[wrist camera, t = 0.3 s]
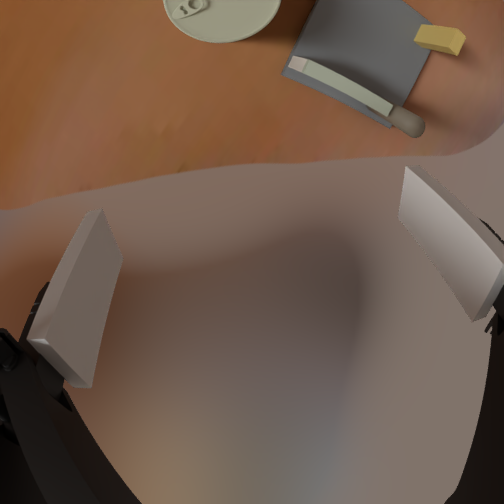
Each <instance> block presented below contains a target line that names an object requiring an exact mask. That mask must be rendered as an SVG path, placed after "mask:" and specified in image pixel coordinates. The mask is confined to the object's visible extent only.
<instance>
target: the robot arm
mask: <svg viewBox="0 0 504 504" xmlns="http://www.w3.org/2000/svg"><path fill="white" fill-rule="evenodd" d="M398 219H399V220H400V221H401V222H402V224H403V225H404V226H405V227H406V229H407V230H408V231H409V232H410V234H411V235H412V236H413V238H414V239H415V240H416V241H417V243H418V244H419V245H420V247H421V248H422V249H423V251H424V252H425V253H426V255H427V256H428V257H429V259H430V260H431V261H432V263H433V264H434V266H435V267H436V268H437V270H438V271H439V272H440V274H441V275H442V277H443V278H444V280H445V281H446V283H447V284H448V286H449V287H450V288H451V290H452V292H453V293H454V295H455V296H456V298H457V299H458V301H459V302H460V304H461V305H462V307H463V308H464V310H465V312H466V313H467V315H468V316H469V318H470V319H471V321H472V322H474V321H476V320H479V319H481V318H484V317H486V316H487V314H488V312H489V311H490V308H491V307H492V305H493V306H494V308H495V309H496V313H495V314H494V316H493V318H492V319H491V320H490V322H489V324H488V325H487V327H486V329H485V332H486V333H487V332H488V330H489V329H490V327H491V326H492V331H491V333H490V334H492V338H491V348H490V357H489V365H488V372H487V379H486V385H485V391H484V396H483V401H482V406H481V411H480V415H479V419H478V423H477V427H476V431H475V435H474V438H473V442H472V445H471V449H470V452H469V455H468V458H467V462H466V465H465V468H464V470H463V473H462V476H461V479H460V482H459V484H458V486H457V488H456V490H455V492H454V493H453V494H452V495H451V496H450V497H449V498H448V499H447V500H446V502H445V503H444V504H504V241H503V240H501V238H500V237H499V236H498V235H497V234H495V231H494V230H493V229H491V227H490V226H489V225H488V224H487V223H485V222H484V221H482V220H481V219H479V218H478V217H476V216H475V215H474V214H473V213H472V212H471V211H470V210H469V209H468V208H467V207H466V206H465V205H464V204H463V203H462V202H461V201H460V200H459V199H458V198H457V197H456V196H454V195H453V194H452V193H451V192H450V191H449V190H448V189H447V188H446V187H444V186H443V185H442V184H441V183H440V182H439V181H437V180H436V179H435V178H434V177H433V176H432V175H430V174H429V173H428V172H427V171H425V170H424V169H423V168H422V167H421V166H419V165H415V166H406V168H405V176H404V182H403V189H402V196H401V202H400V207H399V213H398ZM122 261H123V257H122V254H121V252H120V250H119V247H118V245H117V243H116V240H115V238H114V236H113V233H112V231H111V228H110V226H109V224H108V221H107V219H106V216H105V214H104V211H103V209H102V208H101V209H97V210H93V211H88V212H87V213H86V215H85V217H84V218H83V220H82V222H81V224H80V225H79V227H78V229H77V231H76V232H75V234H74V236H73V238H72V240H71V242H70V244H69V245H68V247H67V249H66V251H65V253H64V255H63V257H62V259H61V261H60V263H59V265H58V267H57V269H56V271H55V273H54V275H53V277H52V279H51V282H47V283H46V284H45V286H44V287H43V288H42V289H41V291H40V292H39V294H38V296H37V298H36V300H35V302H34V306H33V307H32V309H31V312H30V313H31V314H30V315H29V317H28V319H27V321H26V324H25V326H24V329H23V331H22V334H21V337H20V339H19V342H17V341H16V340H15V339H14V338H13V337H12V335H11V334H10V333H9V332H8V331H7V330H6V329H4V328H0V504H142V503H141V502H140V501H139V500H138V499H137V497H136V496H135V495H134V494H133V493H132V491H131V490H130V489H129V488H128V486H127V485H126V484H125V482H124V481H123V480H122V478H121V477H120V476H119V474H118V473H117V472H116V471H115V469H114V468H113V466H112V465H111V463H110V462H109V461H108V459H107V458H106V456H105V455H104V453H103V452H102V450H101V449H100V447H99V446H98V444H97V443H96V441H95V439H94V438H93V436H92V435H91V433H90V431H89V430H88V428H87V426H86V425H85V423H84V421H83V420H82V418H81V416H80V415H79V413H78V411H77V409H76V407H75V406H74V404H73V402H72V400H71V398H70V396H69V395H68V392H67V391H66V390H65V389H64V388H63V383H64V379H65V380H66V381H67V382H68V383H69V384H70V385H72V386H73V387H77V388H92V383H93V377H94V372H95V367H96V361H97V357H98V352H99V348H100V343H101V338H102V334H103V330H104V326H105V322H106V318H107V314H108V310H109V306H110V303H111V299H112V295H113V292H114V288H115V285H116V281H117V278H118V274H119V271H120V268H121V264H122Z"/></svg>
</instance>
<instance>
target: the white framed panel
mask: <svg viewBox="0 0 504 504" xmlns="http://www.w3.org/2000/svg"><path fill="white" fill-rule="evenodd" d="M288 67H290V68H292V69H295V70H297V71H299V72H301V73H304V74H306V75H308V76H310V77H313V78H315V79H317V80H319V81H321V82H323V83H325V84H327V85H329V86H332V87H334V88H336V89H338V90H339V91H341V92H343V93H345V94H347V95H349V96H351V97H353V98H355V99H357V100H358V101H360V102H362V103H364V104H366V105H367V106H369V107H371V108H373V109H374V110H376V111H378V112H380V113H381V114H383V115H385V116H386V117H387V116H388V114H389V112H390V110H391V109H392V107H393V105H392V104H390V103H389V102H387V101H386V100H384V99H382V98H381V97H379V96H377V95H376V94H374V93H372V92H371V91H369V90H367V89H365V88H364V87H362V86H360V85H358V84H357V83H355V82H353V81H351V80H349V79H347V78H346V77H344V76H342V75H340V74H338V73H336V72H334V71H332V70H330V69H328V68H326V67H324V66H322V65H320V64H318V63H316V62H313V61H311V60H309V59H305V58H301V57H297V56H293V57H292V59H291V61H290V63H289V65H288Z"/></svg>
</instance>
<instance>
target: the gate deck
mask: <svg viewBox="0 0 504 504" xmlns="http://www.w3.org/2000/svg"><path fill="white" fill-rule="evenodd" d="M465 38H466V36H465V35H464V34H463V33H462V32H461V31H459V30H458V29H457V28H450V27H443V26H434V25H433V24H432V23H430V22H429V21H428V20H427V19H425V18H424V17H423V16H422V15H420V14H419V13H418V12H417V11H415V10H414V9H413V8H411V7H410V6H409V5H407V4H406V3H405V2H403V1H402V0H316V2H315V4H314V6H313V8H312V10H311V12H310V14H309V16H308V18H307V21H306V23H305V25H304V27H303V29H302V31H301V33H300V35H299V37H298V39H297V41H296V43H295V45H294V47H293V50H292V52H291V54H290V56H289V58H288V60H287V62H286V65H285V67H284V69H283V71H282V73H281V75H283V76H285V77H287V78H290V79H292V80H295V81H297V82H299V83H301V84H304V85H306V86H308V87H311V88H313V89H315V90H317V91H319V92H321V93H324V94H326V95H328V96H330V97H332V98H334V99H336V100H338V101H340V102H342V103H344V104H346V105H348V106H350V107H352V108H354V109H355V110H357V111H359V112H361V113H363V114H365V115H367V116H368V117H370V118H372V119H374V120H376V121H377V122H379V123H381V124H382V125H384V126H386V127H388V128H389V129H390V128H391V126H392V125H394V126H395V127H397V128H398V129H400V130H401V131H403V132H404V133H406V134H407V135H409V136H410V137H412V138H418V137H420V136H421V135H422V134H423V132H424V130H425V122H424V120H423V119H422V118H421V117H419V116H418V115H416V114H414V113H412V112H410V111H408V110H406V109H405V108H403V107H402V106H403V104H404V102H405V100H406V98H407V97H408V95H409V93H410V91H411V89H412V87H413V85H414V83H415V81H416V79H417V77H418V75H419V73H420V71H421V69H422V67H423V65H424V63H425V61H426V59H427V57H428V55H429V53H430V51H431V50H436V51H440V52H445V53H449V54H453V55H457V56H458V54H459V52H460V49H461V47H462V45H463V43H464V41H465ZM293 56H297V57H301V58H305V59H309V60H311V61H313V62H316V63H318V64H320V65H322V66H324V67H326V68H328V69H330V70H332V71H334V72H336V73H338V74H340V75H342V76H344V77H346V78H347V79H349V80H351V81H353V82H355V83H357V84H358V85H360V86H362V87H364V88H365V89H367V90H369V91H371V92H372V93H374V94H376V95H377V96H379V97H381V98H382V99H384V100H386V101H387V102H389V103H390V104H392V105H393V107H392V109H391V110H390V112H389V114H388V116H387V117H386V116H385V115H383V114H381V113H380V112H378V111H376V110H374V109H373V108H371V107H369V106H367V105H366V104H364V103H362V102H360V101H358V100H357V99H355V98H353V97H351V96H349V95H347V94H345V93H343V92H341V91H339V90H338V89H336V88H334V87H332V86H329V85H327V84H325V83H323V82H321V81H319V80H317V79H315V78H313V77H310V76H308V75H306V74H304V73H301V72H299V71H297V70H295V69H292V68H290V67H288V65H289V63H290V61H291V59H292V57H293Z"/></svg>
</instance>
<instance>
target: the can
mask: <svg viewBox="0 0 504 504" xmlns="http://www.w3.org/2000/svg"><path fill="white" fill-rule="evenodd" d="M163 2H164V7H165V10H166V13H167V15H168V17H169V18H170V20H171V21H172V22H173V24H174V25H175V26H176V27H177V28H178V29H180V30H181V31H182V32H184V33H185V34H187V35H189V36H191V37H193V38H195V39H198V40H201V41H205V42H211V43H229V42H235V41H239V40H242V39H245V38H248V37H250V36H252V35H254V34H256V33H257V32H259V31H261V30H262V29H263V28H264V27H266V26H267V25H268V24H269V23H270V22H271V20H272V19H273V18H274V16H275V15H276V13H277V11H278V9H279V7H280V3H281V0H163Z"/></svg>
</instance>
